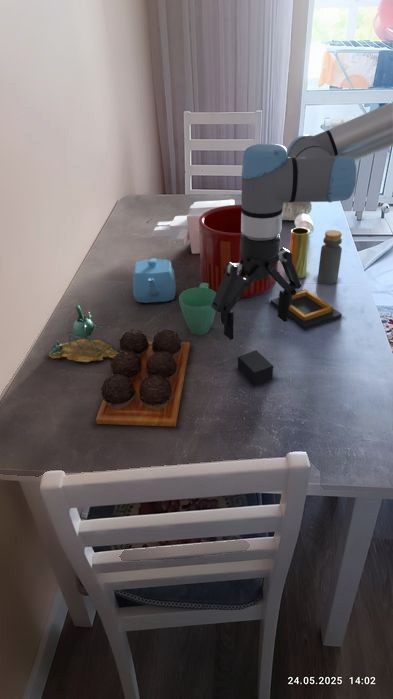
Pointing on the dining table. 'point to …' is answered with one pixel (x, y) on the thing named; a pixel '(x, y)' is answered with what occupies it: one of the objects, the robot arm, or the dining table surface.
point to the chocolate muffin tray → (145, 380)
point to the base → (309, 310)
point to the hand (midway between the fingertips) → (256, 327)
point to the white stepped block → (188, 224)
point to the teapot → (154, 281)
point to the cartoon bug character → (83, 343)
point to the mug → (198, 308)
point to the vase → (299, 250)
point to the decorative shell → (295, 209)
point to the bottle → (330, 257)
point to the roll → (304, 222)
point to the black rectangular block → (255, 368)
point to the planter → (224, 248)
